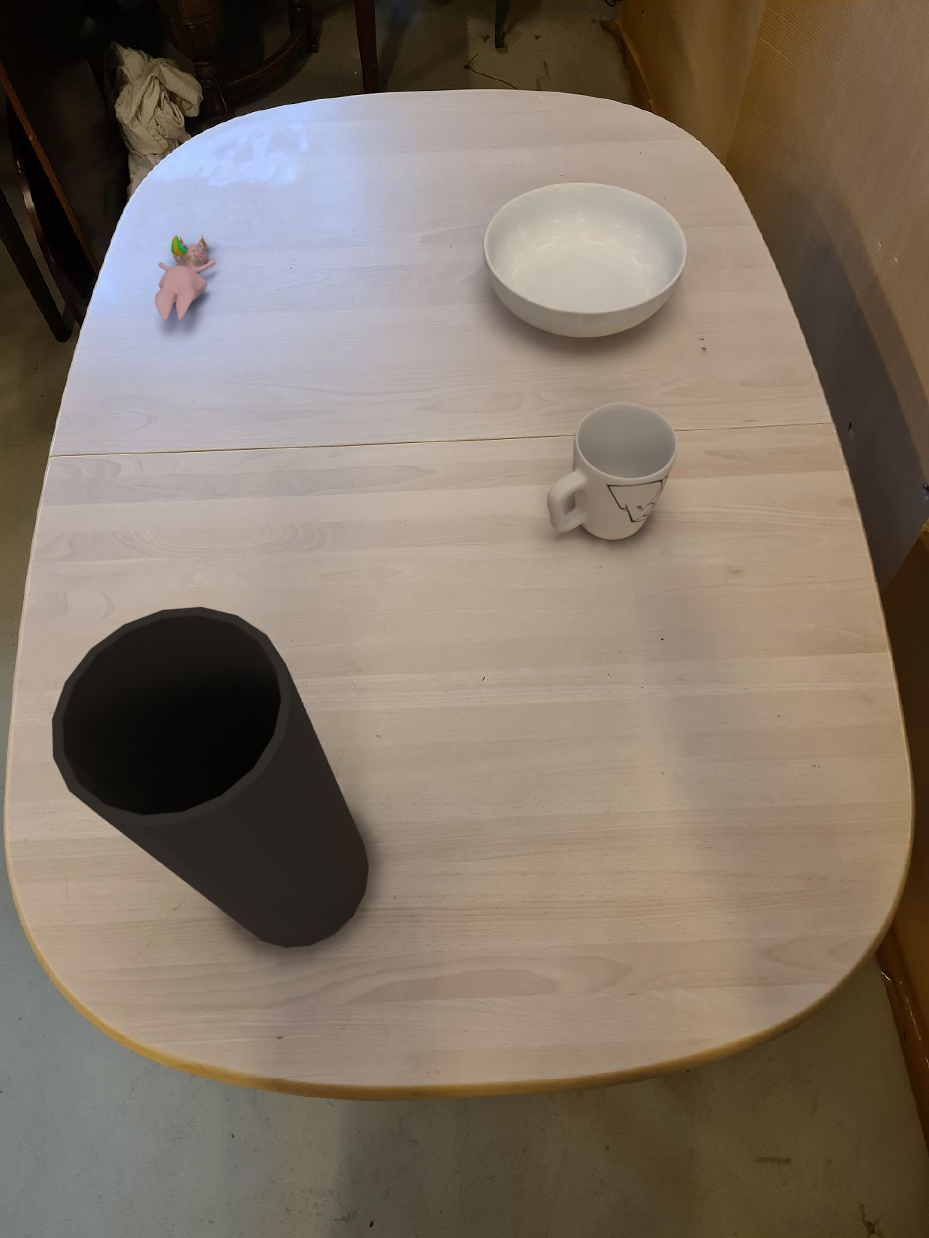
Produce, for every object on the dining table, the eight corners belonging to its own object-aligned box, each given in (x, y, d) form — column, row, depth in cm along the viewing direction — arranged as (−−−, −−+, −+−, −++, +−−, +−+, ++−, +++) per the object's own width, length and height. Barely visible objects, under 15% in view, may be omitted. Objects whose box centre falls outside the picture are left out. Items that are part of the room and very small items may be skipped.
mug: (571, 581, 75) (582, 512, 66) (519, 515, 79) (524, 441, 70) (675, 525, 78) (699, 452, 69) (620, 464, 81) (637, 387, 73)
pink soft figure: (171, 262, 99) (147, 335, 90) (155, 211, 94) (128, 282, 85) (225, 260, 99) (207, 333, 90) (212, 208, 95) (191, 279, 85)
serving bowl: (713, 292, 93) (729, 237, 87) (591, 397, 86) (599, 344, 80) (566, 211, 100) (572, 155, 94) (442, 301, 93) (440, 246, 87)
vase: (225, 953, 60) (31, 835, 34) (232, 812, 65) (68, 616, 39) (371, 940, 60) (290, 813, 34) (367, 801, 65) (293, 598, 39)
